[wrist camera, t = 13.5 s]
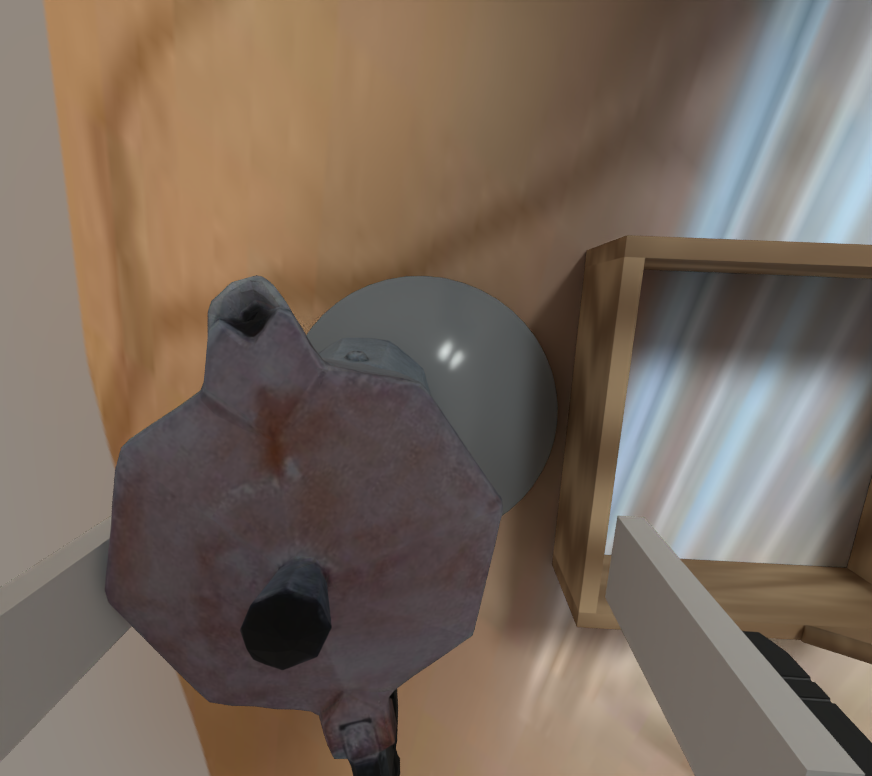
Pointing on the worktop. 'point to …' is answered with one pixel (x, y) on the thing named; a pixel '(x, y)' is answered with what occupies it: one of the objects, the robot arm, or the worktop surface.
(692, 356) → the worktop surface
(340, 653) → the moka pot
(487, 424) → the disc
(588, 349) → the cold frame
